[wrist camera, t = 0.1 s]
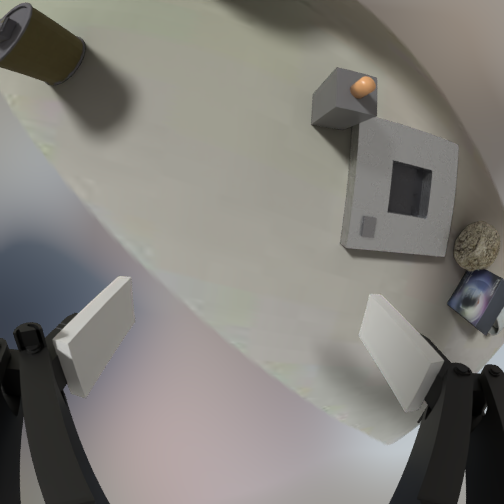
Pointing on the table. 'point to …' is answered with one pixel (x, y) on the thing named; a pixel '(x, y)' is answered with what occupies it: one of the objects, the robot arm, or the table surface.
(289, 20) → the table surface
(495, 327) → the white short cylinder
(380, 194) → the socket
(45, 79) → the canister
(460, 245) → the stone
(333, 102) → the plug
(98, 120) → the table surface
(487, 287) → the small box
